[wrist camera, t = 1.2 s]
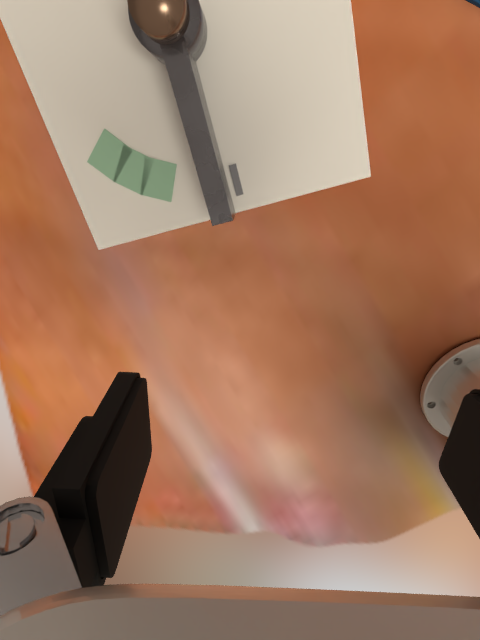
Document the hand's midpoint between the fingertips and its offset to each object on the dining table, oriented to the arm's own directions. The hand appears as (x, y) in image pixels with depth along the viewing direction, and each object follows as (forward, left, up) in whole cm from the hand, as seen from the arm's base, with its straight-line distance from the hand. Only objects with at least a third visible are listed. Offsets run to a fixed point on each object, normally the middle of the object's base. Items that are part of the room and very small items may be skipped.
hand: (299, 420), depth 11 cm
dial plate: (+3, -15, -25) cm, 29 cm away
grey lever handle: (+3, -11, -23) cm, 25 cm away
